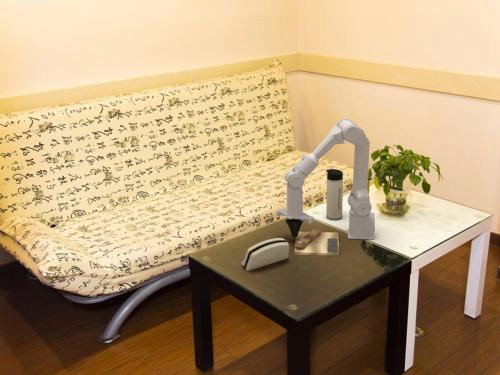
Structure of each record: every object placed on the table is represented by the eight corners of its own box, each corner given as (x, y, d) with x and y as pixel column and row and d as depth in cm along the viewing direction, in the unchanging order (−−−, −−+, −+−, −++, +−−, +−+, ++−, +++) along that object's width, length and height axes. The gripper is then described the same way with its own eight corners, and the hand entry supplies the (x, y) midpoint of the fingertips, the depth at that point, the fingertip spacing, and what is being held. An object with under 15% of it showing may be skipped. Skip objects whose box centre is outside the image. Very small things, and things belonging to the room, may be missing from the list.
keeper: (337, 246, 208) (337, 238, 207) (337, 252, 204) (337, 244, 203) (327, 246, 209) (327, 238, 207) (327, 252, 204) (327, 244, 203)
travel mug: (325, 214, 238) (326, 167, 231) (342, 214, 237) (343, 167, 230) (325, 220, 232) (325, 172, 225) (342, 220, 232) (343, 172, 224)
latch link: (302, 250, 206) (302, 245, 205) (293, 248, 208) (293, 242, 207) (321, 234, 218) (321, 228, 217) (312, 232, 220) (312, 226, 219)
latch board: (338, 234, 219) (338, 232, 219) (339, 255, 204) (339, 253, 203) (296, 234, 221) (296, 231, 221) (294, 254, 206) (294, 252, 205)
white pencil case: (280, 252, 208) (285, 231, 202) (287, 261, 205) (293, 240, 199) (239, 265, 200) (243, 243, 194) (246, 274, 197) (250, 253, 191)
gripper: (271, 201, 212) (272, 235, 217) (306, 210, 204) (306, 245, 208) (282, 195, 217) (283, 229, 222) (316, 203, 209) (316, 238, 214)
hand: (295, 236), depth 216 cm, fingers closed
